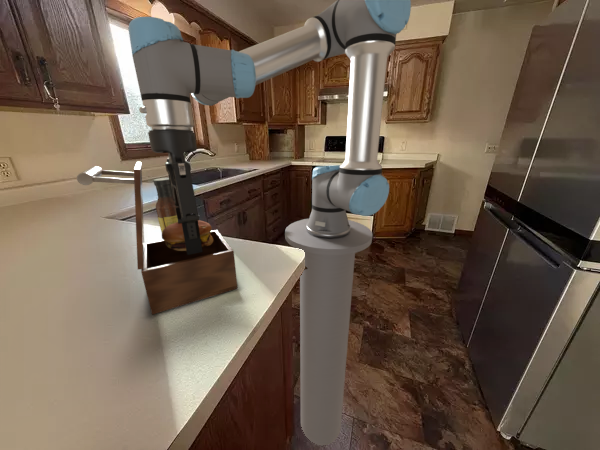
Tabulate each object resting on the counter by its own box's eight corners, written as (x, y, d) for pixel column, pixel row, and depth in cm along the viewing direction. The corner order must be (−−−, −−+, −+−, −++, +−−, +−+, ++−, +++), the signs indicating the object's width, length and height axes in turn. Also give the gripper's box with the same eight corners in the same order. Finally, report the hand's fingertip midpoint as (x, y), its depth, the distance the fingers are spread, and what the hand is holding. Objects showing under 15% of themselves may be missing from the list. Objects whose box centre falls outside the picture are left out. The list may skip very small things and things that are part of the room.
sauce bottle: (194, 245, 72) (183, 177, 65) (181, 254, 66) (167, 181, 59) (174, 243, 73) (161, 176, 66) (159, 252, 67) (143, 180, 60)
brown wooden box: (221, 261, 62) (217, 229, 59) (237, 288, 51) (233, 250, 48) (150, 279, 55) (142, 243, 52) (152, 314, 44) (141, 271, 41)
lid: (141, 162, 47) (90, 157, 43) (140, 169, 36) (71, 163, 32) (144, 241, 52) (97, 243, 48) (143, 269, 41) (83, 275, 37)
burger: (174, 236, 55) (170, 216, 53) (217, 234, 56) (215, 215, 55) (156, 256, 46) (151, 233, 44) (208, 253, 47) (205, 231, 45)
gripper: (147, 130, 51) (166, 229, 58) (147, 126, 33) (176, 271, 40) (185, 130, 54) (200, 224, 62) (206, 127, 36) (222, 260, 44)
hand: (190, 243), depth 51 cm, fingers closed on burger, 10 cm apart
